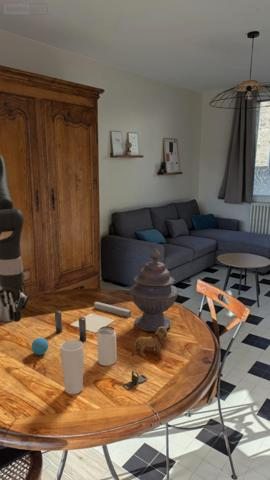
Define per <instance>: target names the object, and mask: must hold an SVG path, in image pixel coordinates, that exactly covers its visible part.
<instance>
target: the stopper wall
mask: <svg viewBox="0 0 270 480" xmlns="http://www.w3.org/2000/svg"><path fill="white" fill-rule="evenodd" d="M93 307H94V309H98V310H101V311H104V312H109V313H113V314H116V315H120V316H122V317H127V318H130V317H131V316H132V310H130V309H127V308H123V307H118V306H116V305H111V304H107V303H103V302H99V301H95V302H93Z"/></svg>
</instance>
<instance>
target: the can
mask: <svg viewBox="0 0 270 480" xmlns="http://www.w3.org/2000/svg"><path fill="white" fill-rule="evenodd" d="M115 330H116V329H115V328H114V327H113V326H109V325H107V326H104V327H101V328H99V330H98V332H97V337H96V338H97V339H96V341H97V362H98V364H100V365H101V366H104V367H110V366H113V365H115V363H116V362H117V334H116V331H115Z"/></svg>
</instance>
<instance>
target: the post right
mask: <svg viewBox="0 0 270 480" xmlns="http://www.w3.org/2000/svg"><path fill="white" fill-rule="evenodd" d="M84 317H85V316H84ZM84 317H79V318H78V320H79V328H78V330H79V331H78V333H79V334H78V335H79V341H81V342H82V343H83V342H86V341H87V330H86V320H85V318H84Z"/></svg>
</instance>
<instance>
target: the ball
mask: <svg viewBox="0 0 270 480" xmlns="http://www.w3.org/2000/svg"><path fill="white" fill-rule="evenodd" d="M48 349H49V342H48V340H47V339H46V338H44V337H38V338H36V339H34V340H33V341H32V342H31V351H32V352H33V353H34V354H35V355H38V356H40V355H43V354H45V353H46V352H47V351H48Z"/></svg>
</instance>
